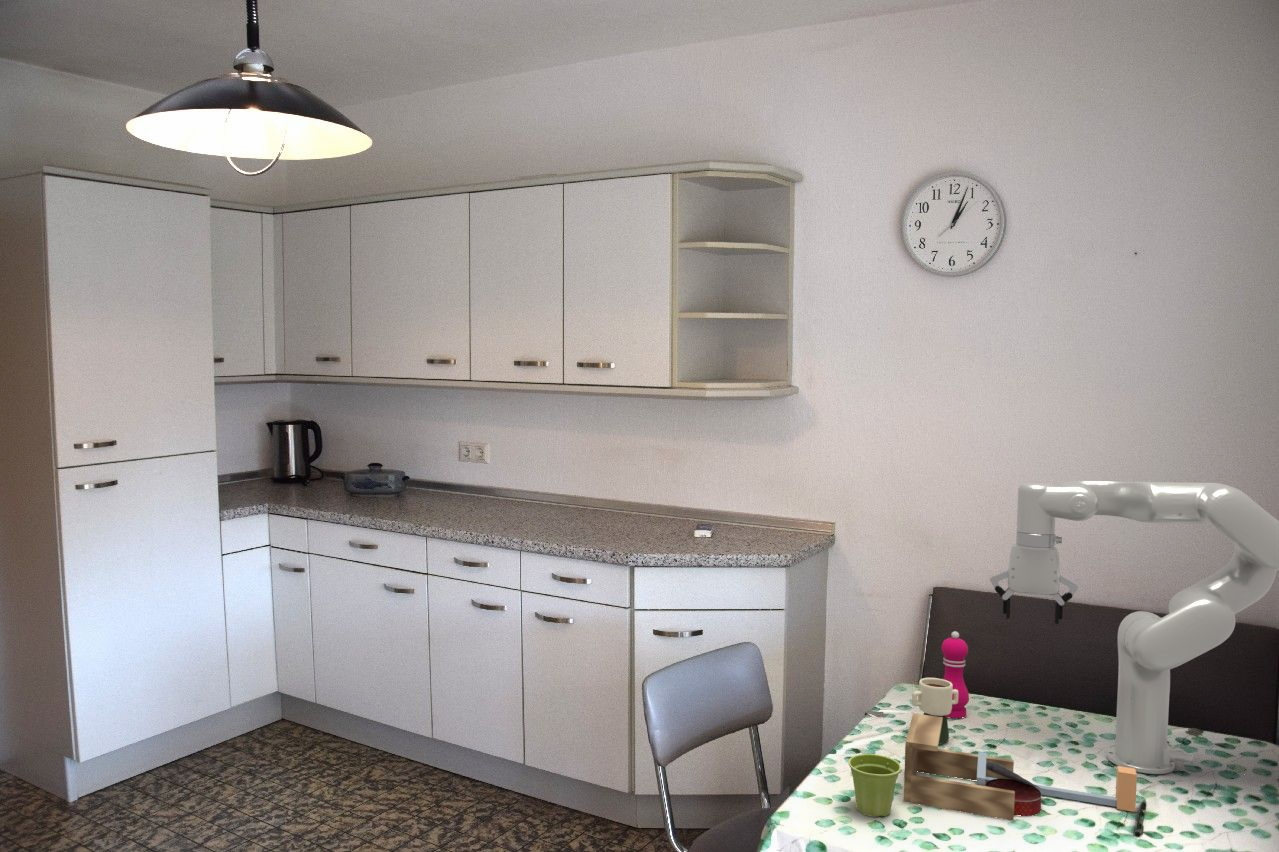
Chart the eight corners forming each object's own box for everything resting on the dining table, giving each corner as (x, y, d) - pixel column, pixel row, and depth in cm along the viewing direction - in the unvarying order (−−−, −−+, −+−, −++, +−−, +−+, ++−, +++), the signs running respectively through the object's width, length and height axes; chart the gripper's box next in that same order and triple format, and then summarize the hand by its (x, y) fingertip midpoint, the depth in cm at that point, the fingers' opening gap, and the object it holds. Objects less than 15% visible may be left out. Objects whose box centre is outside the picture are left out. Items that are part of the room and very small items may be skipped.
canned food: (983, 821, 179) (972, 766, 184) (1036, 817, 179) (1024, 762, 183) (999, 818, 169) (987, 760, 173) (1056, 814, 169) (1042, 756, 173)
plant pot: (890, 827, 166) (892, 779, 166) (839, 813, 171) (841, 766, 171) (906, 807, 174) (907, 761, 174) (856, 794, 179) (858, 749, 179)
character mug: (948, 733, 212) (950, 676, 211) (964, 745, 205) (967, 686, 204) (903, 735, 210) (905, 678, 209) (918, 748, 203) (920, 688, 202)
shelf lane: (1012, 785, 185) (1015, 727, 184) (1013, 820, 169) (1016, 758, 169) (911, 768, 192) (913, 713, 191) (903, 801, 176) (905, 741, 176)
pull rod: (1133, 805, 176) (1134, 768, 176) (1143, 838, 163) (1145, 798, 163) (977, 780, 186) (978, 745, 186) (975, 809, 173) (976, 772, 173)
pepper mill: (970, 721, 219) (973, 636, 218) (938, 718, 221) (941, 634, 220) (966, 710, 227) (969, 628, 226) (934, 708, 228) (937, 626, 227)
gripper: (1078, 541, 201) (1074, 620, 202) (992, 534, 207) (989, 611, 208) (1081, 546, 194) (1077, 628, 195) (991, 540, 200) (988, 619, 201)
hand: (1031, 619), depth 202 cm, fingers open, 9 cm apart
